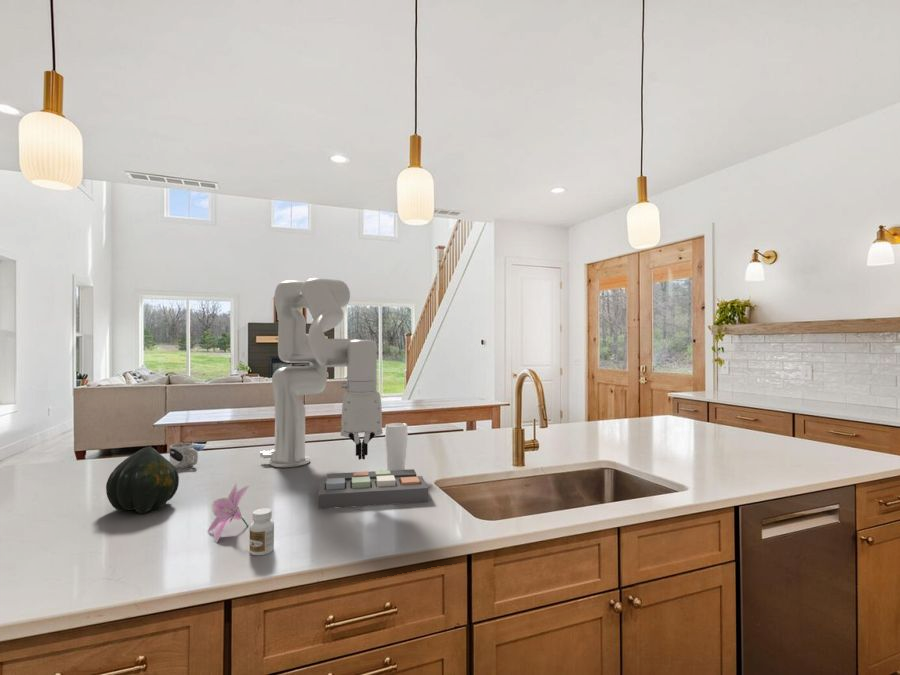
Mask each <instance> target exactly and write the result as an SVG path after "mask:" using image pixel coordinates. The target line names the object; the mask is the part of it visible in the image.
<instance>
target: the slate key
mask: <svg viewBox="0 0 900 675" xmlns="http://www.w3.org/2000/svg"><path fill="white" fill-rule="evenodd" d="M325 481H326V490H332V489H345V478H332V479H327V478H326V480H325Z"/></svg>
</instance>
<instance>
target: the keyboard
mask: <svg viewBox="0 0 900 675" xmlns="http://www.w3.org/2000/svg"><path fill="white" fill-rule="evenodd" d="M387 475H394V477H395V480H396V486H383V487H377V486H376V476H387ZM369 476H370V487H366V488H352V477H369ZM400 477H418V479H419V481H420V484H417V485H401V484H400ZM332 478H345V489H332V490H326V480H327V479H332ZM326 480H324V481H320V485H319V489H318V503H317V504H318V505H317V506H318V507H317V509H318V510H323V509H322V508H326V509H336V508H335V507H341V508H351V507H352V508H354V507H353V506H356V507H367V506H368V505H371V506H383V505H384V504H386V505H397V504H411V503H412V504H414V503H427V502H429V486H428V484H427V483H426V481H425V479H424V477H423V476H422V475H418V476H417V473H416V471H415V469H413V468H412V469H411V468H410V469H405V470H374V471H353V472H338V473H337V472H335V473H327V474H326ZM368 507H369V506H368Z"/></svg>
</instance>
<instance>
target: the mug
mask: <svg viewBox="0 0 900 675" xmlns="http://www.w3.org/2000/svg"><path fill="white" fill-rule="evenodd" d="M194 444H195V443H193V442H180V443H174V444H171V445H169V462H170V463H171V464H172V465H173V466H174V467H175V468H176V470H178V469H185V468H191V467H192V466H195V465H197V464H198V459H199V454H198V450H197V449H195V448H194V446H195V445H194Z"/></svg>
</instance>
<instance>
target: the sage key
mask: <svg viewBox="0 0 900 675" xmlns="http://www.w3.org/2000/svg"><path fill="white" fill-rule="evenodd" d="M366 487H370V476H369V477H352V488H366Z"/></svg>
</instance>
